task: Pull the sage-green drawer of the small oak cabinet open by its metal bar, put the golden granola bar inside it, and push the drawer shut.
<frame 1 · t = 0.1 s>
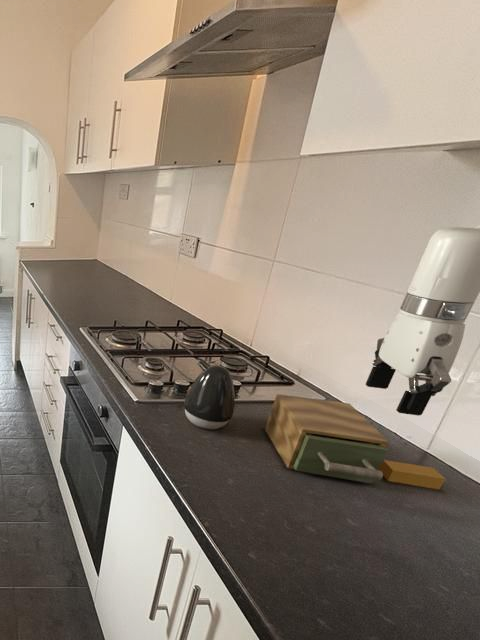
hand: (391, 399, 74), 18 cm above the worktop, tool pointing down, fingers open, 9 cm apart
cabinet: (312, 453, 89), on the worktop
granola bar: (407, 479, 81), on the worktop
drawer: (329, 447, 83), point 5 cm above the worktop, slide at 0.5 cm
dark grey egg ornament: (203, 423, 100), on the worktop
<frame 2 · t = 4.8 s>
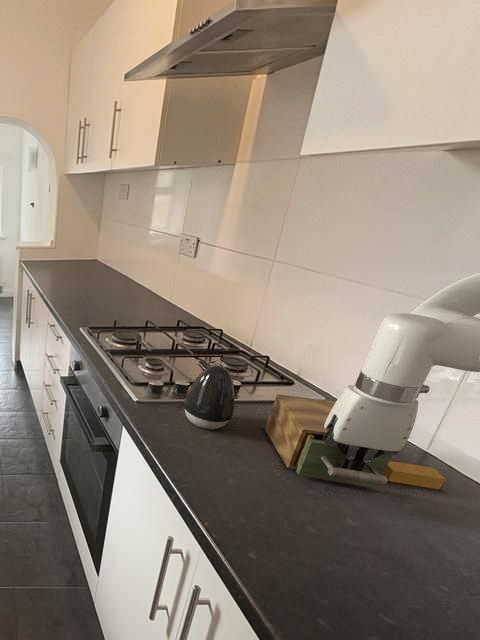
hand: (345, 474, 77), 4 cm above the worktop, tool pointing down, fingers closed
drawer: (333, 452, 82), point 5 cm above the worktop, slide at 1.9 cm, touching gripper
everything else where it was.
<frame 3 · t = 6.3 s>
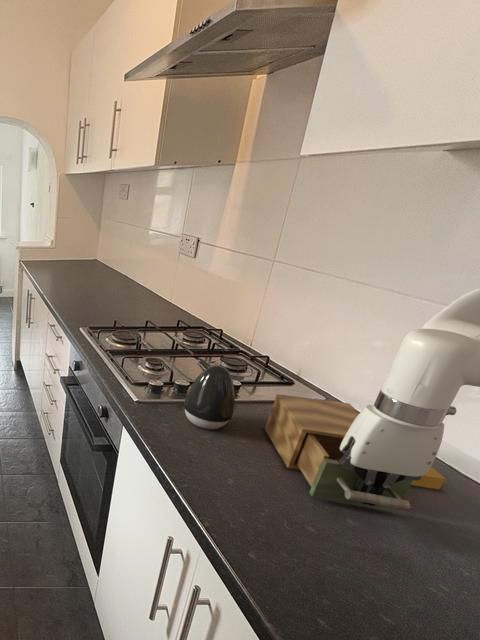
hand: (363, 499, 71), 4 cm above the worktop, tool pointing down, fingers closed
drawer: (348, 472, 76), point 5 cm above the worktop, slide at 8.2 cm, touching gripper
everything else where it was.
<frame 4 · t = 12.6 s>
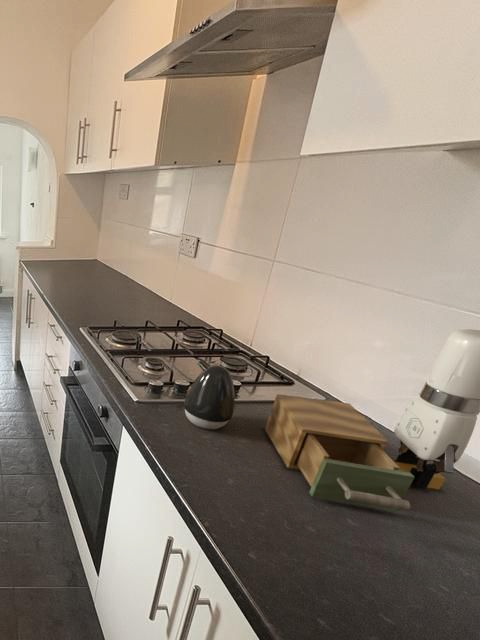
hand: (408, 478, 81), 0 cm above the worktop, tool pointing down, fingers closed on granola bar, 3 cm apart
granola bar: (407, 479, 81), on the worktop, touching gripper
drawer: (348, 472, 76), point 5 cm above the worktop, slide at 8.2 cm
everything else where it was.
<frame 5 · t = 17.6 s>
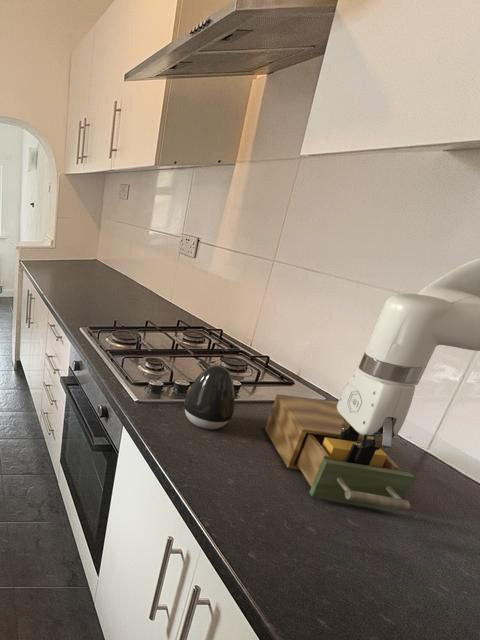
hand: (350, 456, 76), 7 cm above the worktop, tool pointing down, fingers closed on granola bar, 3 cm apart
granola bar: (350, 457, 77), point 7 cm above the worktop, touching gripper
everything else where it was.
when the fingers open (9 cm above the worktop, at t = 26.6 s): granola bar drops 7 cm, resting on drawer.
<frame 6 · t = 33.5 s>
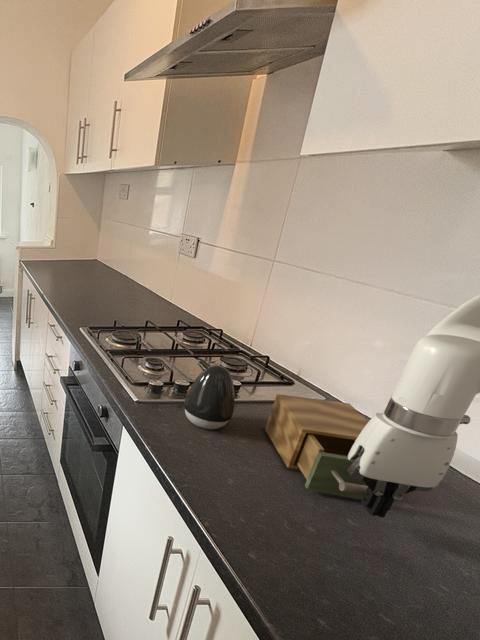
hand: (372, 510, 69), 4 cm above the worktop, tool pointing down, fingers closed
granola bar: (334, 472, 80), point 2 cm above the worktop, touching drawer
drawer: (343, 465, 78), point 5 cm above the worktop, slide at 6.1 cm, touching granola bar, gripper
everything else where it was.
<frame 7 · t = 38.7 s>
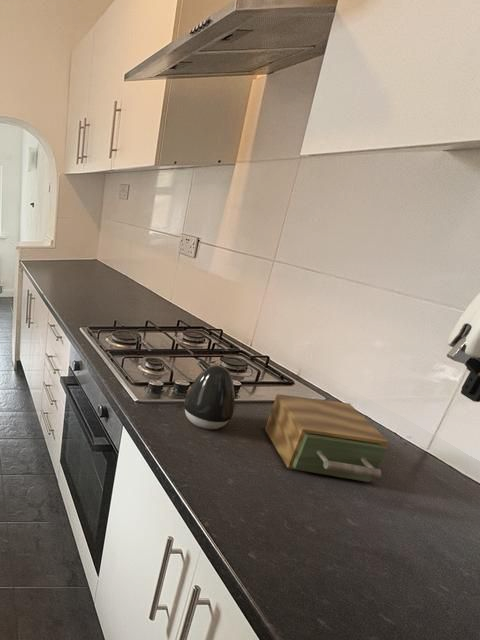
hand: (474, 398, 65), 23 cm above the worktop, tool pointing down, fingers closed
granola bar: (320, 453, 86), point 2 cm above the worktop, touching drawer
drawer: (328, 446, 83), point 5 cm above the worktop, slide at 0.0 cm, touching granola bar
everything else where it was.
at the end: drawer pulled out 8.2 cm at the most during the clip, back to where it started at the end; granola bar inside the target area in the cabinet (2.8 cm from its centre), point 2.0 cm above the cabinet's base; drawer slide at 0.0 cm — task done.
